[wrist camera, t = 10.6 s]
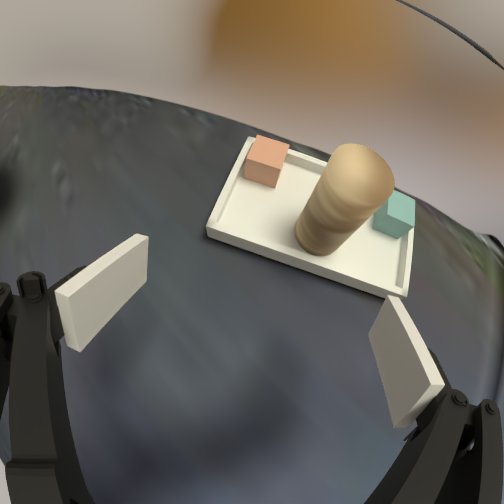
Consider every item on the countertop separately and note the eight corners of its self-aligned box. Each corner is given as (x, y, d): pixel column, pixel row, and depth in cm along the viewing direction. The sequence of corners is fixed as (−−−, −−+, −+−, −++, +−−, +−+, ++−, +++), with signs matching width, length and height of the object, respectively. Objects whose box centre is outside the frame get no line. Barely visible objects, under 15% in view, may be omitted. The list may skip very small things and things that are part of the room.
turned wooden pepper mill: (288, 246, 27) (324, 184, 17) (301, 204, 29) (336, 134, 18) (335, 263, 27) (392, 213, 17) (344, 221, 29) (395, 160, 18)
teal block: (372, 228, 29) (387, 214, 25) (375, 203, 30) (389, 187, 27) (397, 239, 29) (414, 226, 25) (399, 214, 30) (415, 200, 26)
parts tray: (207, 236, 28) (205, 226, 25) (247, 150, 32) (248, 136, 30) (394, 301, 27) (406, 297, 25) (404, 210, 31) (414, 201, 29)
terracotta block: (244, 178, 29) (246, 158, 26) (254, 155, 30) (257, 134, 27) (275, 188, 29) (280, 169, 26) (283, 164, 30) (289, 145, 27)
